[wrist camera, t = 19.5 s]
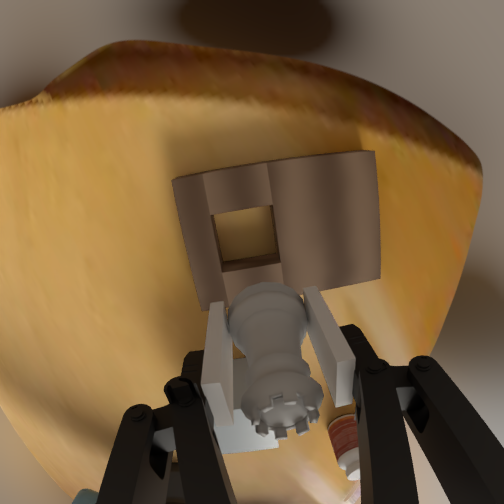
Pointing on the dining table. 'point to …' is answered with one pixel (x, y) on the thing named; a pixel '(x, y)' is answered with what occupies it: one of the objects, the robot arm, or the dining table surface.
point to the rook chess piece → (274, 359)
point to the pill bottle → (346, 445)
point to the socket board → (286, 223)
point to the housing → (241, 421)
